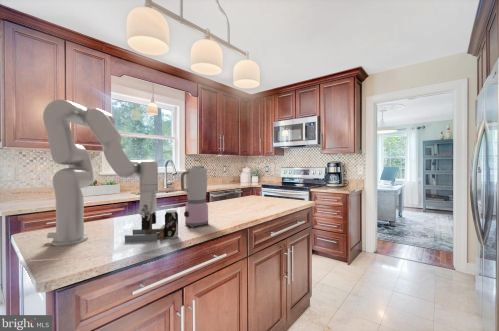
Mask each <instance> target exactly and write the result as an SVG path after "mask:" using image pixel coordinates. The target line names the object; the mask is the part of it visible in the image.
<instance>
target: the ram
mask: <svg viewBox="0 0 499 331" xmlns="http://www.w3.org/2000/svg"><path fill="white" fill-rule="evenodd" d="M149 220H150V229H149V230H145V234H157V238H159V240H161V241H162V240H165V239H166V237H165V224H163V225H162V226H161V227H160V228H158V229H159V231H160V232H152V229H153V224H152V215H150V217H149Z"/></svg>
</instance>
